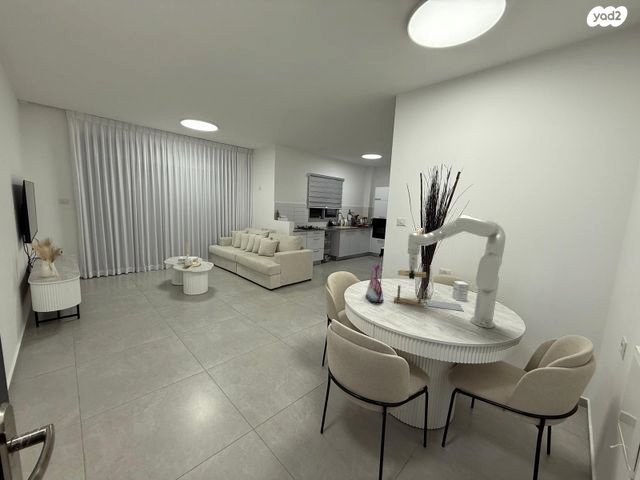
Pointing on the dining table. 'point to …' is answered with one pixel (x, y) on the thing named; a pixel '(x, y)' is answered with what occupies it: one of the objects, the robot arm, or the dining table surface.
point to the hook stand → (409, 301)
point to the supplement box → (460, 290)
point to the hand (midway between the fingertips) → (411, 277)
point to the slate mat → (444, 305)
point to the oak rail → (417, 274)
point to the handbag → (375, 288)
